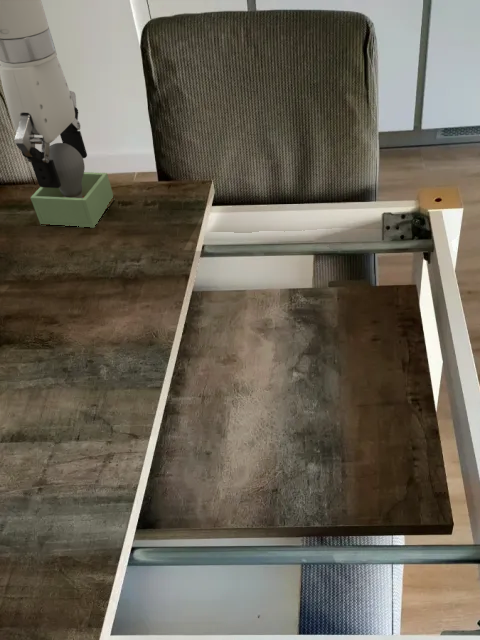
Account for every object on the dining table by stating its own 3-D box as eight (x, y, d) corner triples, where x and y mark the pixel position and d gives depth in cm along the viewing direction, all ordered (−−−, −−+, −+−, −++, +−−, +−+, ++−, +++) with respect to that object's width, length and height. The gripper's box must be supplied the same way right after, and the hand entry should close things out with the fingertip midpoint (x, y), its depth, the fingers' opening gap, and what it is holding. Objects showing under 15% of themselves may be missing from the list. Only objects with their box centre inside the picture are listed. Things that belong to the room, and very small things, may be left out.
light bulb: (87, 218, 101) (67, 154, 94) (51, 216, 102) (28, 152, 95) (102, 199, 105) (84, 136, 98) (67, 197, 106) (46, 135, 99)
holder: (40, 225, 102) (30, 197, 98) (64, 197, 108) (54, 170, 104) (94, 228, 101) (85, 200, 97) (114, 200, 106) (107, 172, 103)
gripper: (27, 25, 93) (64, 146, 105) (-36, 68, 81) (14, 198, 94) (77, 26, 92) (109, 147, 104) (20, 69, 80) (64, 200, 93)
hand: (64, 171), depth 99 cm, fingers open, 9 cm apart
